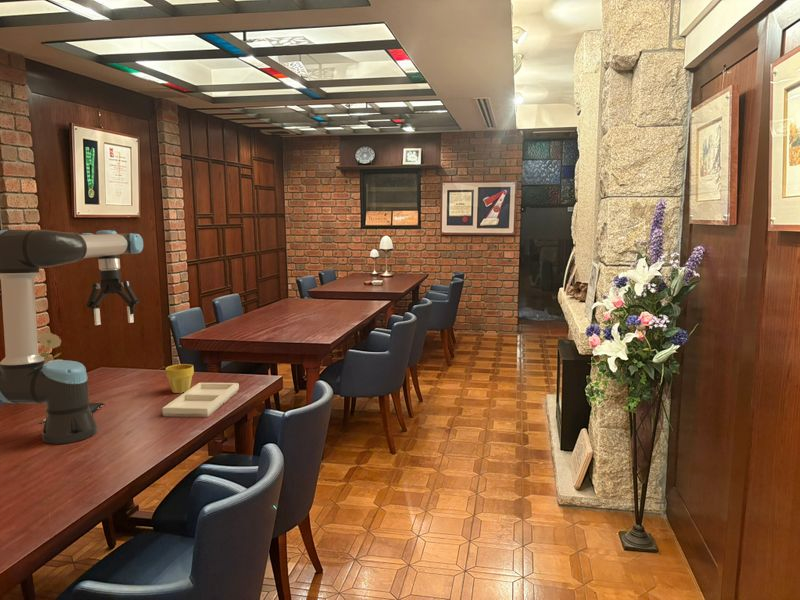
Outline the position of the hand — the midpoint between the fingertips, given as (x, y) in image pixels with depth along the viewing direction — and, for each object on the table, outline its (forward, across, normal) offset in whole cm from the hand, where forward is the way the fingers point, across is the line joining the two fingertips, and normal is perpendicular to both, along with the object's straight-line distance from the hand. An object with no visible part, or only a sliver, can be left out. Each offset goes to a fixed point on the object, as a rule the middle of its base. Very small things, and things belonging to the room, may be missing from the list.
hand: (114, 323), depth 225 cm
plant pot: (+29, -23, -3) cm, 37 cm away
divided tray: (+31, -38, +11) cm, 51 cm away
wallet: (+31, +3, +25) cm, 39 cm away
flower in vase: (+26, +23, +5) cm, 35 cm away
